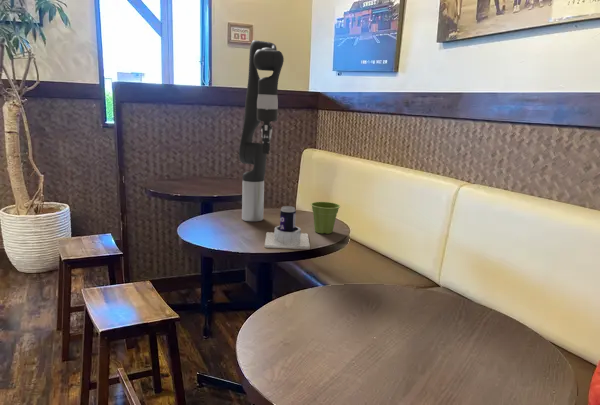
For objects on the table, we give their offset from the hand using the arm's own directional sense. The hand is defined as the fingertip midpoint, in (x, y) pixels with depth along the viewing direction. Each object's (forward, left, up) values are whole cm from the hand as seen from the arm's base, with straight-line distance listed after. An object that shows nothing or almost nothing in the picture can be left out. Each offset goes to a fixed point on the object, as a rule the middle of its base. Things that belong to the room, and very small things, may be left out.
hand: (266, 152), depth 168 cm
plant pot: (-8, +24, -32) cm, 41 cm away
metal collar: (+7, +9, -32) cm, 34 cm away
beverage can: (+7, +9, -31) cm, 33 cm away
